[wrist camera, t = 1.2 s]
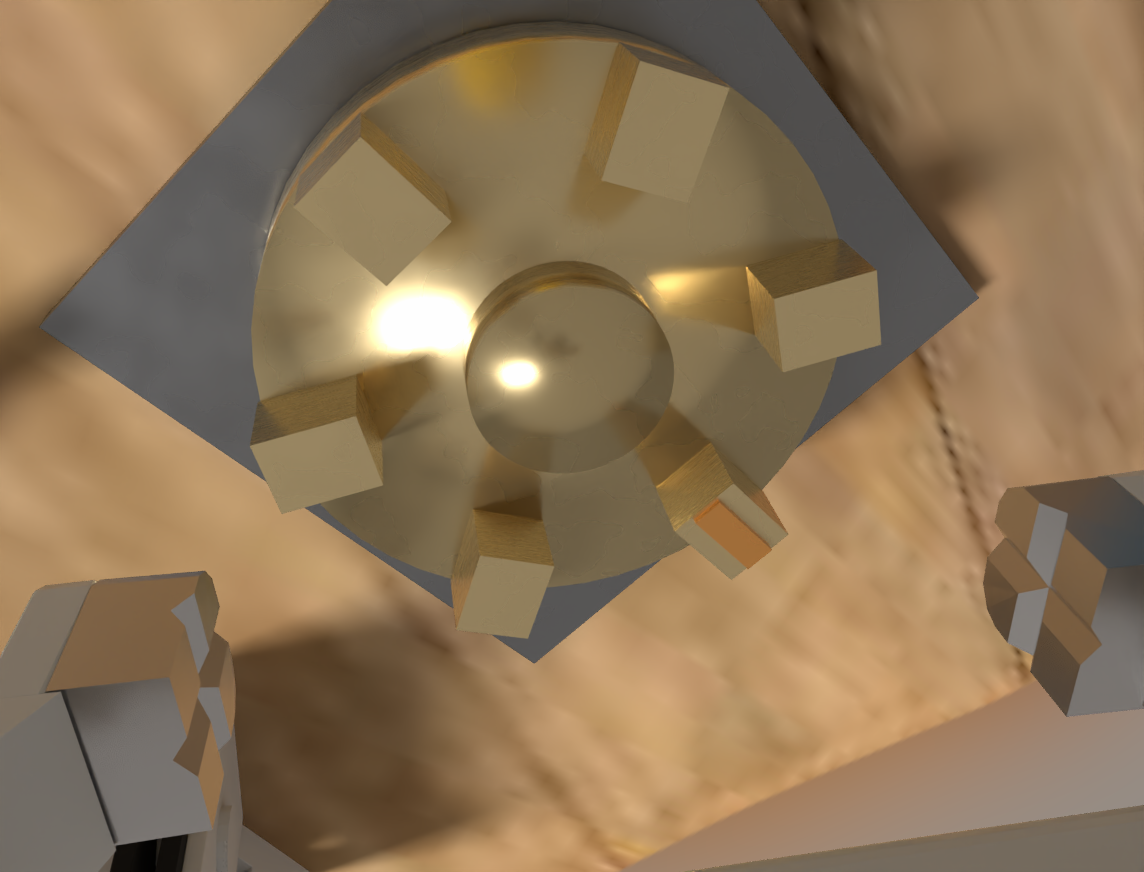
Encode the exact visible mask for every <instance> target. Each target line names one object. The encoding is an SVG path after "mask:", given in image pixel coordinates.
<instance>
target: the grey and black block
mask: <svg viewBox="0 0 1144 872" xmlns="http://www.w3.org/2000/svg"><path fill="white" fill-rule="evenodd" d="M218 752H219V756H220V760H221V764H222V768H223V772H224V777H223V781H222V786H221V791H220V796H219V801H218V806H217V811H216V816H215V821H214V825H213V830H209V831H203V832H197V833H191V834H184V835H178V836H172V837H166V838H159V839H153V840H147V841H141V842H134V843H128V844H122V845H116V846H115V848H116V851H115V853H114V854H113V855H112V856H111V857H110V858H109V860H108V861H107V862H106V863H105V864H104V865H103V867H102V868H101V869H100V870H99V871H98V872H310V871H308V870H307V869H305V868H304V867H302V866H301V865H300V864H298V863H297V862H295V861H294V860H292V859H291V858H290V857H288V856H287V855H285V854H284V853H282V852H281V851H280V850H278V849H277V848H275V847H274V846H272V845H271V844H270V843H268V842H267V841H265V840H264V839H262V838H261V837H260V836H258V835H257V834H255V833H254V832H252V831H251V830H250V829H248V828H247V827H245V826H244V825H242V822H243V811H242V800H241V790H240V780H239V769H238V759H237V748H236V738H235V728H234V724H233V730H232V736H231V739H230V740H229V741H228V742H227V743H226V744H225V745H224V746H222V747H221V748H220V749H219V750H218Z"/></svg>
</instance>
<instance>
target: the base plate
mask: <svg viewBox="0 0 1144 872" xmlns="http://www.w3.org/2000/svg"><path fill="white" fill-rule="evenodd" d="M553 21H558V22H569V23H580V24H592V25H599V26H603V27H607V28H612V29H616V30H620V31H625V32H629V33H633V34H636V35H639V36H642V37H644V38H647V39H649V40H652V41H654V42H657V43H659V44H662V45H664V46H667V47H669V48H672V49H674V50H675V51H677V52H679V53H681V54H682V55H684V56H686V57H687V58H689V59H691V60H693V61H694V62H696V63H698V64H700V65H701V66H703V67H705V68H706V69H707V70H709V71H710V72H711V73H713V74H714V75H716V76H717V77H718V78H720V79H721V80H722V81H724V82H725V83H726V84H728V85H729V86H730V87H732V88H733V89H734V90H736V91H737V92H738V93H740V94H741V95H742V96H743V97H745V98H746V99H747V100H748V101H750V102H751V103H752V104H753V105H755V106H756V107H757V108H758V109H760V110H761V111H762V112H763V113H765V114H766V115H767V116H768V117H769V118H770V119H771V120H772V121H773V123H774V124H775V125H776V126H777V127H778V128H779V129H780V130H781V131H782V132H783V133H784V134H785V135H786V137H787V138H788V139H789V140H790V141H791V142H792V143H793V145H794V146H795V147H796V149H797V150H798V152H799V153H800V155H801V156H802V158H803V159H804V161H805V162H806V164H807V165H808V167H809V168H810V170H811V171H812V173H813V174H814V176H815V178H816V180H817V183H818V185H819V187H820V189H821V191H822V193H823V195H824V197H825V199H826V201H827V204H828V206H829V209H830V212H831V215H832V218H833V222H834V225H835V228H836V231H837V235H838V238H839V240H840V239H842V240H843V241H844V242H846V243H847V244H848V245H849V246H850V247H851V248H852V249H853V250H855V251H856V252H857V253H858V254H859V255H860V256H861V257H862V258H864V259H865V260H866V261H867V262H868V263H869V264H870V265H871V266H873V267H874V268H875V269H876V270H877V282H878V299H879V315H880V332H881V345H878V346H875V347H871V348H868V349H864V350H860V351H857V352H853V353H850V354H846V355H843V356H839V357H837V359H836V363H835V367H834V370H833V374H832V378H831V380H830V383H829V385H828V388H827V390H826V393H825V395H824V398H823V400H822V403H821V405H820V408H819V410H818V411H817V413H816V415H815V417H814V419H813V420H812V422H811V424H810V426H809V428H808V430H807V431H806V433H805V435H804V437H803V439H802V440H801V441H800V443H799V444H798V446H799V445H801V444H802V443H803V442H804V441H806V440H807V439H808V438H809V437H810V436H812V435H813V434H814V433H815V432H816V431H818V430H819V429H820V428H821V427H823V426H824V425H825V424H826V423H827V422H829V421H830V420H831V419H832V418H834V417H835V416H836V415H837V414H838V413H840V412H841V411H842V410H843V409H844V408H846V407H847V406H848V405H849V404H851V403H852V402H853V401H854V400H855V399H857V398H858V397H859V396H860V395H861V394H863V393H864V392H865V391H866V390H868V389H869V388H870V387H871V386H872V385H874V384H875V383H876V382H877V381H879V380H880V379H881V378H882V377H883V376H885V375H886V374H887V373H888V372H889V371H891V370H892V369H893V368H894V367H896V366H897V365H898V364H899V363H900V362H902V361H903V360H904V359H905V358H906V357H908V356H909V355H910V354H911V353H913V352H914V351H915V350H916V349H917V348H919V347H920V346H921V345H922V344H923V343H925V342H926V341H927V340H928V339H930V338H931V337H932V336H933V335H934V334H936V333H937V332H938V331H939V330H941V329H942V328H943V327H944V326H945V325H947V324H948V323H949V322H950V321H951V320H953V319H954V318H955V317H956V316H958V315H959V314H960V313H961V312H962V311H964V310H965V309H966V308H967V307H968V306H970V305H971V304H972V303H973V302H975V301H976V300H977V299H978V298H979V297H978V296H977V294H976V293H975V292H974V290H973V289H972V288H971V286H970V285H969V284H968V282H967V281H966V280H965V278H964V277H963V276H962V274H961V273H960V272H959V270H958V269H957V268H956V266H955V265H954V264H953V262H952V261H951V260H950V258H949V257H948V256H947V254H946V253H945V252H944V250H943V249H942V248H941V246H940V245H939V244H938V242H937V241H936V240H935V238H934V237H933V236H932V234H931V233H930V232H929V230H928V229H927V228H926V226H925V225H924V224H923V222H922V221H921V220H920V218H919V217H918V216H917V214H916V213H915V212H914V210H913V209H912V208H911V206H910V205H909V204H908V202H907V201H906V200H905V198H904V197H903V196H902V194H901V193H900V192H899V190H898V189H897V188H896V186H895V185H894V184H893V182H892V181H891V180H890V178H889V177H888V176H887V174H886V173H885V172H884V170H883V169H882V168H881V166H880V165H879V164H878V162H877V161H876V160H875V158H874V157H873V156H872V154H871V153H870V152H869V150H868V149H867V148H866V146H865V145H864V144H863V142H862V141H861V140H860V138H859V137H858V135H857V134H856V133H855V131H854V130H853V129H852V127H851V126H850V125H849V123H848V122H847V121H846V119H845V118H844V117H843V115H842V114H841V113H840V111H839V110H838V109H837V107H836V106H835V105H834V103H833V102H832V101H831V99H830V98H829V97H828V95H827V94H826V93H825V91H824V90H823V89H822V87H821V86H820V85H819V83H818V82H817V81H816V79H815V78H814V77H813V75H812V74H811V73H810V71H809V70H808V69H807V67H806V66H805V65H804V63H803V62H802V61H801V59H800V58H799V57H798V55H797V54H796V53H795V51H794V50H793V49H792V47H791V46H790V45H789V43H788V42H787V41H786V39H785V38H784V37H783V35H782V34H781V33H780V31H779V30H778V29H777V27H776V26H775V25H774V23H773V22H772V21H771V19H770V18H769V17H768V15H767V14H766V13H765V11H764V10H763V9H762V7H761V6H760V5H759V3H758V2H757V1H756V0H329V1H328V2H327V3H326V4H325V6H324V7H323V8H322V9H321V10H320V11H319V12H318V13H317V15H316V16H315V17H314V18H313V19H312V20H311V21H310V22H309V23H308V25H307V26H306V27H305V28H304V29H303V30H302V31H301V32H300V33H299V35H298V36H297V37H296V38H295V39H294V40H293V41H292V42H291V44H290V45H289V46H288V47H287V48H286V49H285V50H284V51H283V52H282V54H281V55H280V56H279V57H278V58H277V59H276V60H275V61H274V63H273V64H272V65H271V66H270V67H269V68H268V69H267V70H266V71H265V73H264V74H263V75H262V76H261V77H260V78H259V79H258V80H257V81H256V83H255V84H254V85H253V86H252V87H251V88H250V89H249V90H248V92H247V93H246V94H245V95H244V96H243V97H242V98H241V99H240V100H239V102H238V103H237V104H236V105H235V106H234V107H233V108H232V109H231V110H230V112H229V113H228V114H227V115H226V116H225V117H224V118H223V119H222V121H221V122H220V123H219V124H218V125H217V126H216V127H215V128H214V129H213V131H212V132H211V133H210V134H209V135H208V136H207V137H206V138H205V140H204V141H203V142H202V143H201V144H200V145H199V146H198V147H197V148H196V150H195V151H194V152H193V153H192V154H191V155H190V156H189V157H188V158H187V160H186V161H185V162H184V163H183V164H182V165H181V166H180V167H179V169H178V170H177V171H176V172H175V173H174V174H173V175H172V176H171V177H170V179H169V180H168V181H167V182H166V183H165V184H164V185H163V186H162V188H161V189H160V190H159V191H158V192H157V193H156V194H155V195H154V196H153V198H152V199H151V200H150V201H149V202H148V203H147V204H146V205H145V206H144V208H143V209H142V210H141V211H140V212H139V213H138V214H137V215H136V217H135V218H134V219H133V220H132V221H131V222H130V223H129V224H128V225H127V227H126V228H125V229H124V230H123V231H122V232H121V233H120V234H119V235H118V237H117V238H116V239H115V240H114V241H113V242H112V243H111V244H110V246H109V247H108V248H107V249H106V250H105V251H104V252H103V253H102V254H101V256H100V257H99V258H98V259H97V260H96V261H95V262H94V263H93V265H92V266H91V267H90V268H89V269H88V270H87V271H86V272H85V273H84V275H83V276H82V277H81V278H80V279H79V280H78V281H77V282H76V283H75V285H74V286H73V287H72V288H71V289H70V290H69V291H68V292H67V294H66V295H65V296H64V297H63V298H62V299H61V300H60V301H59V302H58V304H57V305H56V306H55V307H54V308H53V309H52V310H51V311H50V312H49V314H48V315H47V316H46V317H45V319H44V320H43V322H42V323H41V325H40V327H39V328H41V329H42V330H44V331H45V332H47V333H48V334H50V335H51V336H53V337H54V338H56V339H57V340H58V341H60V342H61V343H63V344H64V345H66V346H67V347H69V348H70V349H72V350H73V351H75V352H76V353H78V354H79V355H81V356H82V357H84V358H85V359H86V360H88V361H89V362H91V363H92V364H94V365H95V366H97V367H98V368H100V369H101V370H103V371H104V372H106V373H107V374H109V375H110V376H112V377H113V378H114V379H116V380H117V381H119V382H120V383H122V384H123V385H125V386H126V387H128V388H129V389H131V390H132V391H134V392H135V393H137V394H138V395H139V396H141V397H142V398H144V399H145V400H147V401H148V402H150V403H151V404H153V405H154V406H156V407H157V408H159V409H160V410H162V411H163V412H165V413H166V414H167V415H169V416H170V417H172V418H173V419H175V420H176V421H178V422H179V423H181V424H182V425H184V426H185V427H187V428H188V429H190V430H191V431H192V432H194V433H195V434H197V435H198V436H200V437H201V438H203V439H204V440H206V441H207V442H209V443H210V444H212V445H213V446H215V447H216V448H218V449H219V450H220V451H222V452H223V453H225V454H226V455H228V456H229V457H231V458H232V459H234V460H235V461H237V462H238V463H240V464H241V465H243V466H244V467H246V468H247V469H248V470H250V471H251V472H253V473H254V474H256V475H257V476H259V477H260V478H262V479H263V480H265V481H266V479H265V477H264V475H263V473H262V471H261V469H260V467H259V465H258V463H257V460H256V458H255V456H254V454H253V452H252V450H251V448H250V442H251V436H252V431H253V425H254V420H255V414H256V409H257V403H258V402H259V401H260V397H259V392H258V387H257V382H256V377H255V373H254V368H253V353H252V335H251V326H252V316H253V305H254V295H255V288H256V284H257V280H258V275H259V271H260V266H261V262H262V258H263V253H264V249H265V245H266V241H267V237H268V233H269V229H270V225H271V221H272V217H273V214H274V212H275V210H276V207H277V205H278V202H279V200H280V198H281V195H282V193H283V190H284V188H285V185H286V183H287V181H288V179H289V177H290V176H291V174H292V172H293V171H294V169H295V167H296V166H297V164H298V162H299V160H300V159H301V157H302V155H303V154H304V152H305V150H306V149H307V147H308V146H309V145H310V143H311V142H312V141H313V140H314V138H315V137H316V136H317V135H318V133H319V132H320V131H321V130H322V128H323V127H324V126H325V125H326V124H327V122H328V121H329V120H330V119H331V117H332V116H333V115H334V114H335V113H336V112H337V111H338V110H340V109H341V108H342V107H343V106H344V105H345V104H346V103H347V102H348V101H349V100H350V99H351V98H352V97H353V96H355V95H356V94H357V93H358V92H359V91H360V90H361V89H362V88H363V87H365V86H366V85H368V84H369V83H371V82H372V81H373V80H375V79H376V78H378V77H379V76H381V75H382V74H383V73H385V72H386V71H388V70H389V69H391V68H392V67H393V66H395V65H396V64H398V63H400V62H402V61H404V60H406V59H408V58H410V57H412V56H414V55H416V54H418V53H420V52H422V51H424V50H426V49H428V48H429V47H431V46H433V45H436V44H439V43H442V42H445V41H448V40H451V39H453V38H456V37H459V36H462V35H465V34H468V33H471V32H474V31H479V30H484V29H489V28H494V27H499V26H505V25H510V24H516V23H534V22H553ZM798 446H797V447H798ZM797 447H796V448H797ZM796 448H795V449H796ZM305 508H306V509H307V510H309V511H310V512H312V513H313V514H315V515H316V516H318V517H319V518H321V519H322V520H324V521H325V522H326V523H328V524H329V525H331V526H332V527H334V528H335V529H337V530H338V531H340V532H341V533H343V534H344V535H346V536H347V537H349V538H350V539H352V540H353V541H354V542H356V543H357V544H359V545H360V546H362V547H363V548H365V549H366V550H368V551H369V552H371V553H372V554H374V555H375V556H377V557H378V558H379V559H381V560H382V561H384V562H385V563H387V564H388V565H390V566H391V567H393V568H394V569H396V570H397V571H399V572H400V573H402V574H403V575H405V576H406V577H407V578H409V579H410V580H412V581H413V582H415V583H416V584H418V585H419V586H421V587H422V588H424V589H425V590H427V591H428V592H430V593H431V594H433V595H434V596H435V597H437V598H438V599H440V600H441V601H443V602H444V603H446V604H447V605H449V606H450V607H452V608H453V609H454V607H453V598H452V590H451V579H450V578H447V577H443V576H440V575H437V574H434V573H430V572H427V571H424V570H421V569H418V568H416V567H414V566H411V565H409V564H407V563H405V562H402V561H400V560H398V559H396V558H393V557H391V556H389V555H387V554H386V553H384V552H382V551H381V550H379V549H377V548H375V547H374V546H372V545H370V544H369V543H367V542H365V541H364V540H362V539H360V538H359V537H358V536H357V535H355V534H354V533H353V532H351V531H350V530H349V529H348V528H346V527H345V526H344V525H342V524H341V523H340V522H339V521H337V520H336V519H335V518H334V517H333V516H332V515H331V514H330V513H329V512H328V511H327V510H326V509H325V508H324V507H323V506H322V505H321V504H320V503H319V504H315V505H312V506H308V507H305ZM660 560H661V559H660ZM660 560H658V561H660ZM658 561H656V562H653V563H651V564H649V565H646V566H643V567H640V568H637V569H634V570H632V571H629V572H626V573H623V574H620V575H617V576H612V577H608V578H604V579H599V580H595V581H591V582H587V583H580V584H573V585H565V586H557V587H547V588H546V591H545V593H544V596H543V599H542V602H541V604H540V607H539V610H538V612H537V615H536V618H535V621H534V623H533V626H532V629H531V632H530V634H529V637H528V639H526V638H517V637H509V636H501V635H493V636H494V637H496V638H497V639H499V640H500V641H502V642H503V643H505V644H506V645H508V646H509V647H511V648H512V649H513V650H515V651H516V652H518V653H519V654H521V655H522V656H524V657H525V658H527V659H528V660H530V661H531V662H533V663H536V662H537V661H538V660H539V659H540V658H542V657H543V656H544V655H545V654H547V653H548V652H549V651H550V650H551V649H553V648H554V647H555V646H556V645H557V644H559V643H560V642H561V641H562V640H564V639H565V638H566V637H567V636H568V635H570V634H571V633H572V632H573V631H575V630H576V629H577V628H578V627H579V626H581V625H582V624H583V623H584V622H585V621H587V620H588V619H589V618H590V617H592V616H593V615H594V614H595V613H596V612H598V611H599V610H600V609H601V608H602V607H604V606H605V605H606V604H607V603H609V602H610V601H611V600H612V599H613V598H615V597H616V596H617V595H618V594H620V593H621V592H622V591H623V590H624V589H626V588H627V587H628V586H629V585H630V584H632V583H633V582H634V581H635V580H637V579H638V578H639V577H640V576H641V575H643V574H644V573H645V572H646V571H647V570H649V569H650V568H651V567H652V566H654V565H655V564H656V563H657V562H658ZM491 635H492V634H491Z"/></svg>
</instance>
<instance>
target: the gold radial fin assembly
mask: <svg viewBox="0 0 1144 872" xmlns="http://www.w3.org/2000/svg"><path fill="white" fill-rule="evenodd" d="M251 335H252V353H253V368H254V373H255V377H256V382H257V387H258V392H259V397H260V401H259V402H258V403H257V409H256V414H255V420H254V425H253V431H252V436H251V442H250V448H251V450H252V452H253V454H254V456H255V458H256V460H257V463H258V465H259V467H260V469H261V471H262V473H263V475H264V477H265V479H266V482H267V484H268V486H269V488H270V490H271V492H272V494H273V496H274V499H275V501H276V503H277V505H278V507H279V509H280V511H281V513H282V514H284V513H287V512H291V511H294V510H298V509H301V508H305V507H308V506H312V505H315V504H319V503H320V504H321V505H322V506H323V507H324V508H325V509H326V510H327V511H328V512H329V513H330V514H331V515H332V516H333V517H334V518H335V519H336V520H337V521H339V522H340V523H341V524H342V525H344V526H345V527H346V528H348V529H349V530H350V531H351V532H353V533H354V534H355V535H357V536H358V537H359V538H360V539H362V540H364V541H365V542H367V543H369V544H370V545H372V546H374V547H375V548H377V549H379V550H381V551H382V552H384V553H386V554H387V555H389V556H391V557H393V558H396V559H398V560H400V561H402V562H405V563H407V564H409V565H411V566H414V567H416V568H418V569H421V570H424V571H427V572H430V573H434V574H437V575H440V576H443V577H447V578H450V579H451V590H452V598H453V607H454V616H455V625H456V630H459V631H467V632H476V633H484V634H492V635H501V636H509V637H517V638H526V639H528V637H529V634H530V632H531V629H532V626H533V623H534V621H535V618H536V615H537V612H538V610H539V607H540V604H541V602H542V599H543V596H544V593H545V591H546V588H547V587H557V586H565V585H573V584H580V583H587V582H591V581H595V580H599V579H604V578H608V577H612V576H617V575H620V574H623V573H626V572H629V571H632V570H634V569H637V568H640V567H643V566H646V565H649V564H651V563H653V562H656V561H658V560H660V559H662V558H664V557H667V556H669V555H671V554H673V553H675V552H677V551H680V550H681V549H683V548H685V547H687V546H688V545H691V546H692V547H693V548H694V549H696V550H697V551H698V552H699V553H700V554H702V555H703V556H704V557H705V558H706V559H707V560H709V561H710V562H711V563H712V564H713V565H714V566H716V567H717V568H718V569H719V570H720V571H721V572H723V573H724V574H725V575H726V576H727V577H729V578H730V579H731V580H732V579H733V578H735V577H736V576H737V575H738V574H740V573H741V572H742V571H743V570H745V569H746V568H747V569H749V568H750V567H751V566H753V565H754V564H755V563H756V562H758V561H759V560H760V559H761V558H763V557H764V556H765V555H766V554H768V553H769V552H770V551H771V550H772V549H771V548H772V547H773V546H775V545H776V544H777V543H779V542H780V541H781V540H782V539H784V538H785V537H786V536H787V535H788V533H787V531H786V529H785V528H784V526H783V524H782V523H781V521H780V519H779V518H778V516H777V514H776V513H775V511H774V509H773V507H772V506H771V504H770V502H769V501H768V499H767V497H766V496H765V494H764V492H763V491H762V489H763V488H764V487H765V486H766V485H767V483H768V482H769V481H770V480H771V479H772V478H773V477H774V476H775V474H776V473H777V472H778V471H779V470H780V469H781V468H782V467H783V465H784V464H785V463H786V461H787V460H788V458H789V457H790V456H791V454H792V453H793V451H794V450H795V448H796V447H797V446H798V444H799V443H800V441H801V440H802V439H803V437H804V435H805V433H806V431H807V430H808V428H809V426H810V424H811V422H812V420H813V419H814V417H815V415H816V413H817V411H818V410H819V408H820V405H821V403H822V400H823V398H824V395H825V393H826V390H827V388H828V385H829V383H830V380H831V378H832V374H833V370H834V367H835V363H836V359H837V357H839V356H843V355H846V354H850V353H853V352H857V351H860V350H864V349H868V348H871V347H875V346H878V345H881V332H880V315H879V299H878V282H877V270H876V269H875V268H874V267H873V266H871V265H870V264H869V263H868V262H867V261H866V260H865V259H864V258H862V257H861V256H860V255H859V254H858V253H857V252H856V251H855V250H853V249H852V248H851V247H850V246H849V245H848V244H847V243H846V242H844V241H843V240H842V239H840V240H839V238H838V235H837V231H836V228H835V225H834V222H833V218H832V215H831V212H830V209H829V206H828V204H827V201H826V199H825V197H824V195H823V193H822V191H821V189H820V187H819V185H818V183H817V180H816V178H815V176H814V174H813V173H812V171H811V170H810V168H809V167H808V165H807V164H806V162H805V161H804V159H803V158H802V156H801V155H800V153H799V152H798V150H797V149H796V147H795V146H794V145H793V143H792V142H791V141H790V140H789V139H788V138H787V137H786V135H785V134H784V133H783V132H782V131H781V130H780V129H779V128H778V127H777V126H776V125H775V124H774V123H773V121H772V120H771V119H770V118H769V117H768V116H767V115H766V114H765V113H763V112H762V111H761V110H760V109H758V108H757V107H756V106H755V105H753V104H752V103H751V102H750V101H748V100H747V99H746V98H745V97H743V96H742V95H741V94H740V93H738V92H737V91H736V90H734V89H733V88H732V87H730V86H729V85H728V84H726V83H725V82H724V81H722V80H721V79H720V78H718V77H717V76H716V75H714V74H713V73H711V72H710V71H709V70H707V69H706V68H705V67H703V66H701V65H700V64H698V63H696V62H694V61H693V60H691V59H689V58H687V57H686V56H684V55H682V54H681V53H679V52H677V51H675V50H674V49H672V48H669V47H667V46H664V45H662V44H659V43H657V42H654V41H652V40H649V39H647V38H644V37H642V36H639V35H636V34H633V33H629V32H625V31H620V30H616V29H612V28H607V27H603V26H599V25H592V24H580V23H569V22H558V21H553V22H534V23H516V24H510V25H505V26H499V27H494V28H489V29H484V30H479V31H474V32H471V33H468V34H465V35H462V36H459V37H456V38H453V39H451V40H448V41H445V42H442V43H439V44H436V45H433V46H431V47H429V48H428V49H426V50H424V51H422V52H420V53H418V54H416V55H414V56H412V57H410V58H408V59H406V60H404V61H402V62H400V63H398V64H396V65H395V66H393V67H392V68H391V69H389V70H388V71H386V72H385V73H383V74H382V75H381V76H379V77H378V78H376V79H375V80H373V81H372V82H371V83H369V84H368V85H366V86H365V87H363V88H362V89H361V90H360V91H359V92H358V93H357V94H356V95H355V96H353V97H352V98H351V99H350V100H349V101H348V102H347V103H346V104H345V105H344V106H343V107H342V108H341V109H340V110H338V111H337V112H336V113H335V114H334V115H333V116H332V117H331V119H330V120H329V121H328V122H327V124H326V125H325V126H324V127H323V128H322V130H321V131H320V132H319V133H318V135H317V136H316V137H315V138H314V140H313V141H312V142H311V143H310V145H309V146H308V147H307V149H306V150H305V152H304V154H303V155H302V157H301V159H300V160H299V162H298V164H297V166H296V167H295V169H294V171H293V172H292V174H291V176H290V177H289V179H288V181H287V183H286V185H285V188H284V190H283V193H282V195H281V198H280V200H279V202H278V205H277V207H276V210H275V212H274V214H273V217H272V221H271V225H270V229H269V233H268V237H267V241H266V245H265V249H264V253H263V258H262V262H261V266H260V271H259V275H258V280H257V284H256V288H255V295H254V305H253V316H252V326H251Z"/></svg>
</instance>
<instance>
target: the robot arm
mask: <svg viewBox="0 0 1144 872" xmlns="http://www.w3.org/2000/svg"><path fill="white" fill-rule="evenodd" d="M995 524H996V525H997V527H998V528H999V530H1000V531H1001V533H1002V535H1003V536H1004V539H1003V540H1002V542H1001V543H1000V544H999V545H998V546H997V547H996V548H995V549H994V550H993V551H992V553H991V554H990V555H989V556H988V557H987V563H986V569H985V575H984V581H983V586H984V592H985V598H986V605H987V609H988V612H989V614H990V616H991V618H992V621H993V623H994V625H995V627H996V628H997V630H998V631H999V632H1000V633H1001V635H1002V636H1003V637H1004V639H1005V640H1006V641H1007V643H1009V644H1011V645H1013V646H1015V647H1017V648H1019V649H1021V650H1023V651H1025V652H1027V653H1029V654H1031V655H1033V658H1032V665H1031V671H1030V672H1031V673H1032V674H1033V676H1034V677H1035V678H1036V679H1037V680H1038V682H1039V683H1040V684H1041V685H1042V687H1043V688H1044V689H1045V690H1046V692H1047V693H1048V694H1049V695H1050V697H1051V698H1052V699H1053V700H1054V702H1055V703H1056V704H1057V705H1058V707H1059V708H1060V709H1061V710H1062V712H1063V713H1064V714H1065V715H1066V716H1067V717H1069V716H1078V715H1088V714H1098V713H1107V712H1117V711H1127V710H1136V709H1144V470H1140V471H1133V472H1126V473H1119V474H1112V475H1105V476H1098V477H1097V478H1089V479H1080V480H1072V481H1064V482H1056V483H1047V484H1039V485H1031V486H1023V487H1014V488H1007V490H1006V492H1005V493H1004V495H1003V496H1002V498H1001V500H1000V501H999V505H998V509H997V514H996V518H995ZM219 607H220V606H219V602H218V599H217V595H216V591H215V588H214V584H213V581H212V578H211V577H210V576H209V575H208V574H207V572H206V571H198V572H186V573H174V574H162V575H150V576H139V577H127V578H115V579H103V580H99V581H94V580H90V581H81V582H72V583H63V584H54V585H45V586H43V587H41V588H40V589H38V590H36V591H35V592H34V593H33V595H32V596H31V598H30V600H29V602H28V604H27V606H26V608H25V610H24V612H23V614H22V616H21V618H20V620H19V621H18V623H17V625H16V627H15V629H14V631H13V633H12V635H11V637H10V639H9V641H8V643H7V645H6V646H5V648H4V650H3V652H2V654H1V656H0V872H98V871H99V870H100V869H101V868H102V867H103V865H104V864H105V863H106V862H107V861H108V860H109V858H110V857H111V856H112V855H113V854H114V853H115V851H116V848H115V846H116V845H122V844H128V843H134V842H141V841H147V840H153V839H159V838H166V837H172V836H178V835H184V834H191V833H197V832H203V831H209V830H213V825H214V821H215V816H216V811H217V806H218V801H219V796H220V791H221V786H222V781H223V777H224V772H223V768H222V764H221V760H220V756H219V752H218V750H219V749H220V748H221V747H222V746H224V745H225V744H226V743H227V742H228V741H229V740H230V739H231V736H232V730H233V724H234V719H235V695H236V685H235V676H234V668H233V661H232V657H231V652H230V648H229V643H228V642H227V641H226V640H224V639H223V638H222V637H221V636H219V635H218V634H217V633H215V632H214V628H215V624H216V619H217V615H218V611H219ZM685 872H1144V805H1141V806H1135V807H1128V808H1121V809H1114V810H1107V811H1099V812H1093V813H1085V814H1079V815H1071V816H1064V817H1057V818H1050V819H1044V820H1037V821H1030V822H1023V823H1016V824H1009V825H1002V826H995V827H988V828H981V829H974V830H967V831H960V832H953V833H946V834H939V835H932V836H925V837H918V838H911V839H904V840H897V841H890V842H884V843H877V844H870V845H863V846H856V847H849V848H842V849H835V850H829V851H822V852H815V853H808V854H801V855H794V856H788V857H781V858H774V859H767V860H761V861H753V862H746V863H740V864H733V865H726V866H719V867H712V868H705V869H699V870H692V871H685Z"/></svg>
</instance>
